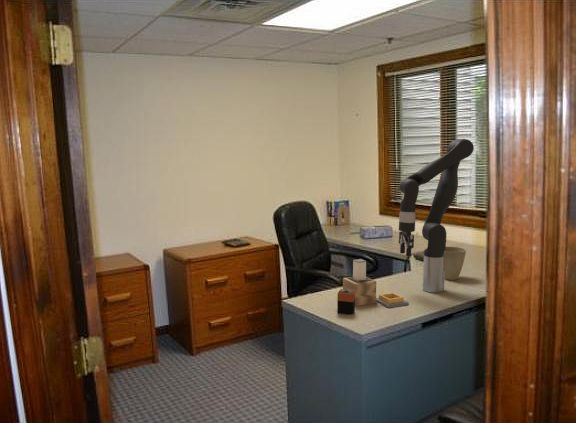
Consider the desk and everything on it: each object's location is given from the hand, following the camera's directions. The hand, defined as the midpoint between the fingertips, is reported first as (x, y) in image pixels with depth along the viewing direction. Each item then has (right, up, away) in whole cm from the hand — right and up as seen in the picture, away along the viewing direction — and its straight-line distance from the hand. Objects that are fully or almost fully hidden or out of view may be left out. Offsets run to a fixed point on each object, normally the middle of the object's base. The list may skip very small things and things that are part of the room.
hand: (405, 254), depth 233 cm
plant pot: (+31, -15, +28) cm, 44 cm away
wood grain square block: (-24, -20, -10) cm, 33 cm away
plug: (-24, -10, -11) cm, 28 cm away
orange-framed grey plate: (-10, -21, -13) cm, 26 cm away
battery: (-31, -23, -26) cm, 46 cm away
